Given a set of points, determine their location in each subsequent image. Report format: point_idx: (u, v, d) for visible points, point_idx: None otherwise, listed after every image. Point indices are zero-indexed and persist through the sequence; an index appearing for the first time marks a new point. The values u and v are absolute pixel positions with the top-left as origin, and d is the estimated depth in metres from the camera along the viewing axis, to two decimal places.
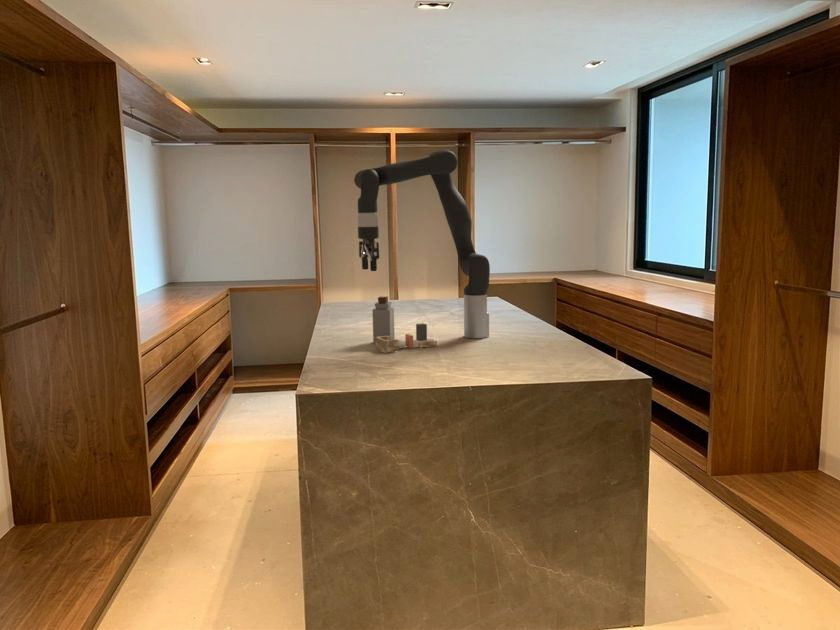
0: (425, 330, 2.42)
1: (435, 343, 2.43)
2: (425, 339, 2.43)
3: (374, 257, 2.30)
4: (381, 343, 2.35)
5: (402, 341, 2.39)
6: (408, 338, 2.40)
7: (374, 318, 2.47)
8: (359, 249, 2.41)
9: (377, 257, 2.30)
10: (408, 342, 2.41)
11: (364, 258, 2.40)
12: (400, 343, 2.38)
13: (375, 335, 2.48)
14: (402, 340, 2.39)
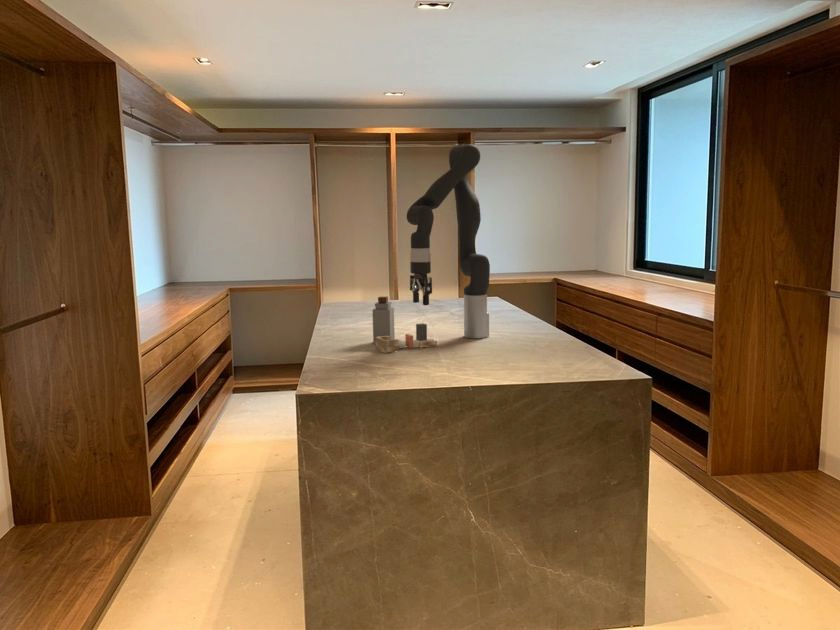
0: (425, 330, 2.42)
1: (435, 343, 2.43)
2: (425, 339, 2.43)
3: (427, 292, 2.34)
4: (381, 343, 2.35)
5: (402, 341, 2.39)
6: (408, 338, 2.40)
7: (374, 318, 2.47)
8: (410, 282, 2.46)
9: (430, 292, 2.35)
10: (408, 342, 2.41)
11: (415, 291, 2.44)
12: (400, 343, 2.38)
13: (375, 335, 2.48)
14: (402, 340, 2.39)
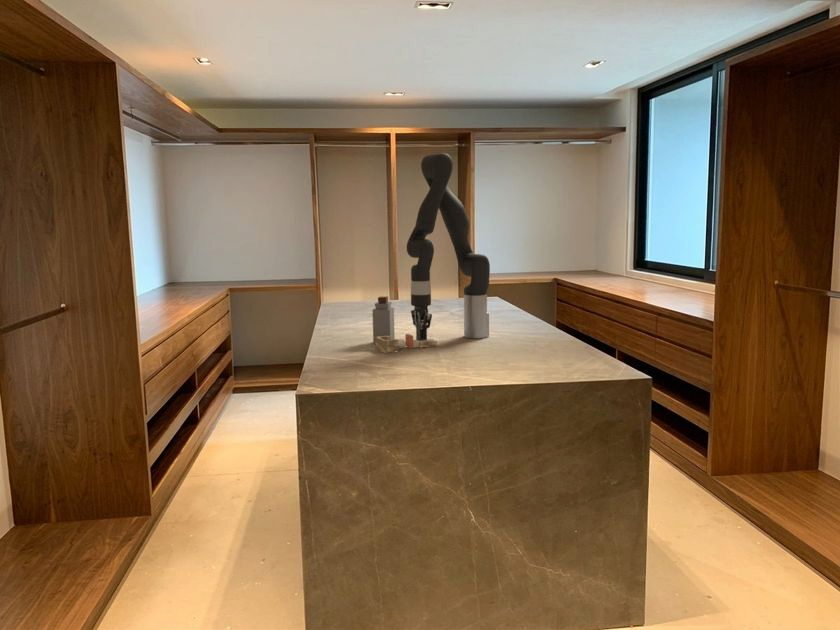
0: None
1: (435, 343, 2.43)
2: (425, 339, 2.43)
3: (425, 327, 2.38)
4: (381, 343, 2.35)
5: (402, 341, 2.39)
6: (408, 338, 2.40)
7: (374, 318, 2.47)
8: (412, 318, 2.46)
9: (428, 326, 2.39)
10: (408, 342, 2.41)
11: None
12: (400, 343, 2.38)
13: (375, 335, 2.48)
14: (402, 340, 2.39)
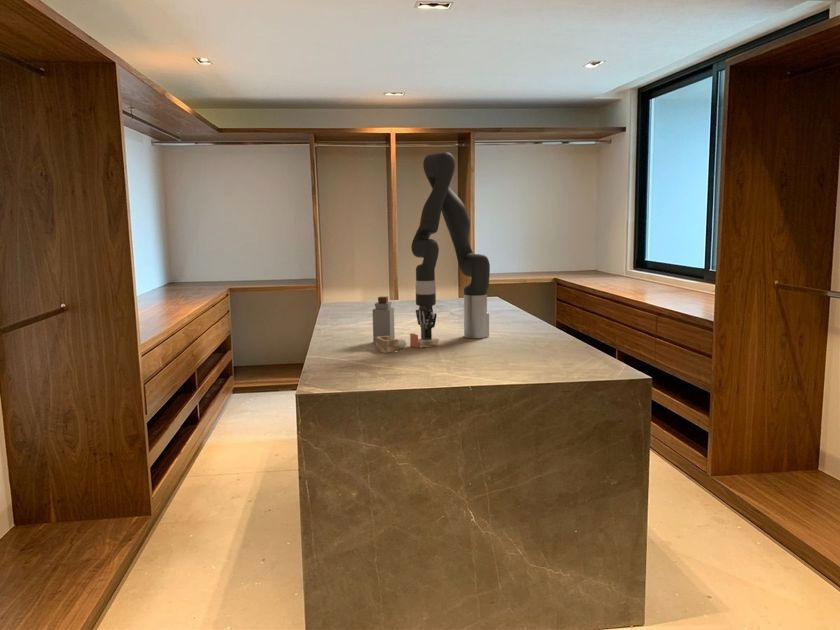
0: None
1: (435, 343, 2.43)
2: (430, 338, 2.43)
3: (430, 327, 2.39)
4: (381, 343, 2.35)
5: (402, 341, 2.39)
6: (413, 338, 2.41)
7: (374, 318, 2.47)
8: (417, 317, 2.47)
9: (432, 326, 2.40)
10: (413, 342, 2.42)
11: None
12: (400, 343, 2.38)
13: (375, 335, 2.48)
14: (402, 340, 2.39)
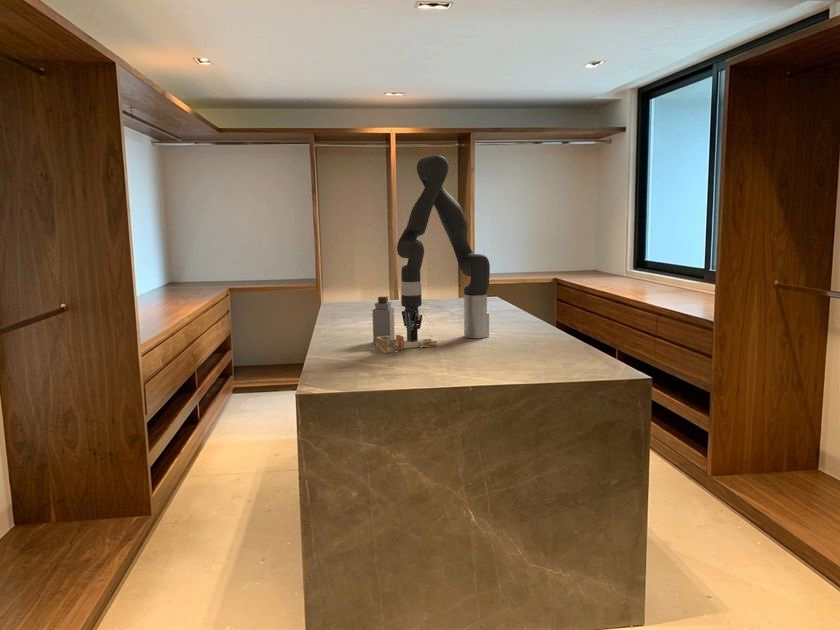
0: None
1: (435, 343, 2.43)
2: (416, 340, 2.41)
3: (415, 328, 2.37)
4: (381, 343, 2.35)
5: None
6: (399, 339, 2.38)
7: (374, 318, 2.47)
8: (403, 318, 2.45)
9: (418, 327, 2.37)
10: (399, 344, 2.39)
11: None
12: None
13: (375, 335, 2.48)
14: None
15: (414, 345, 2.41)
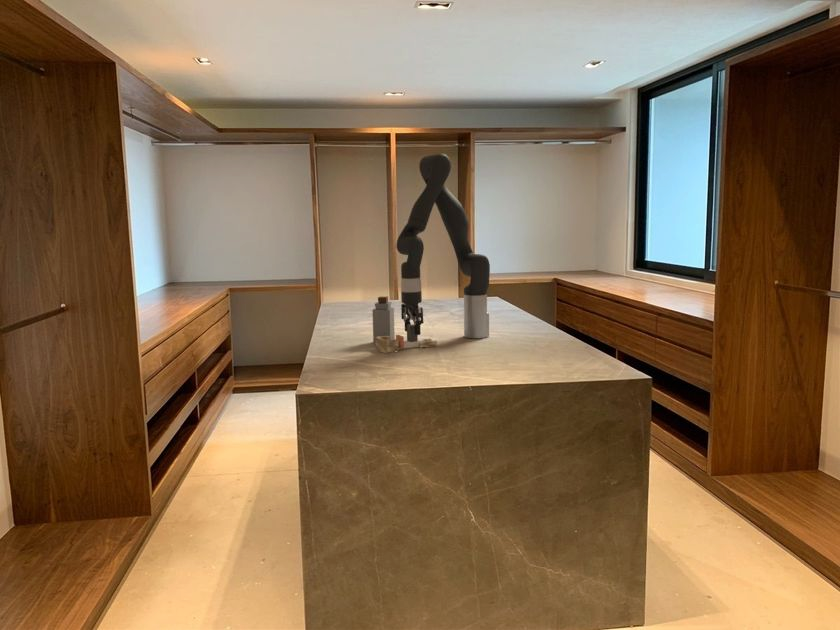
0: None
1: (435, 343, 2.43)
2: (416, 340, 2.41)
3: (418, 322, 2.34)
4: (381, 343, 2.35)
5: None
6: (399, 339, 2.38)
7: (374, 318, 2.47)
8: (401, 311, 2.46)
9: (421, 322, 2.35)
10: (399, 344, 2.39)
11: (407, 320, 2.44)
12: None
13: (375, 335, 2.48)
14: None
15: (414, 345, 2.41)
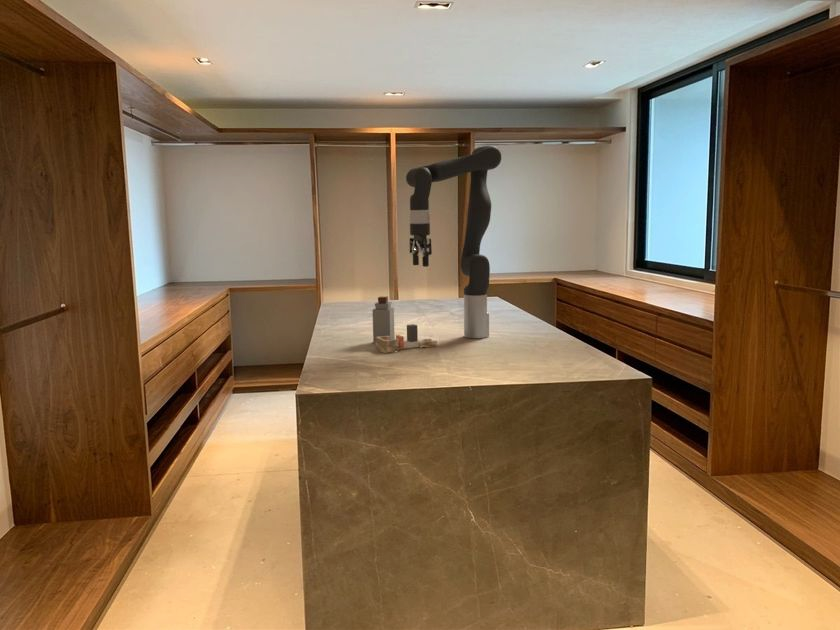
0: (416, 331, 2.40)
1: (435, 343, 2.43)
2: (416, 340, 2.41)
3: (427, 253, 2.36)
4: (381, 343, 2.35)
5: None
6: (399, 339, 2.38)
7: (374, 318, 2.47)
8: (410, 245, 2.48)
9: (430, 253, 2.37)
10: (399, 344, 2.39)
11: (415, 254, 2.47)
12: None
13: (375, 335, 2.48)
14: None
15: (414, 345, 2.41)
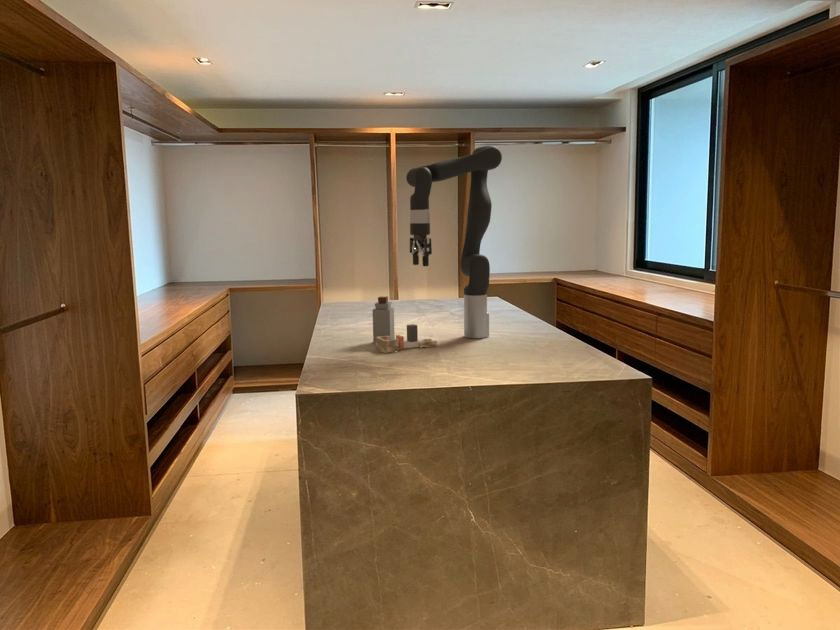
0: (416, 331, 2.40)
1: (435, 343, 2.43)
2: (416, 340, 2.41)
3: (427, 253, 2.36)
4: (381, 343, 2.35)
5: None
6: (399, 339, 2.38)
7: (374, 318, 2.47)
8: (410, 245, 2.48)
9: (430, 253, 2.37)
10: (399, 344, 2.39)
11: (415, 254, 2.47)
12: None
13: (375, 335, 2.48)
14: None
15: (414, 345, 2.41)
